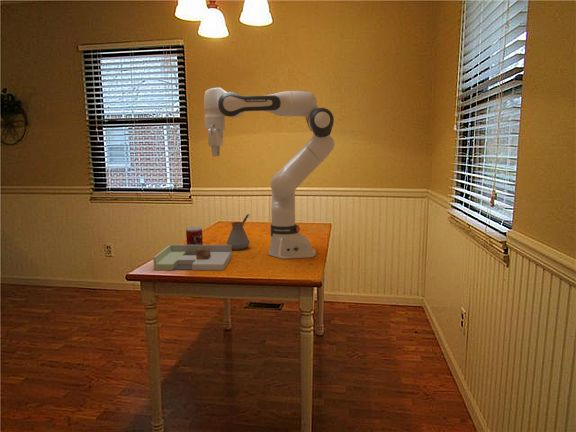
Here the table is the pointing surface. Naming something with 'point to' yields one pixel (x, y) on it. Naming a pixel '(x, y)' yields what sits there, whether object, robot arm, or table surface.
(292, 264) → the table surface
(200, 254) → the walnut block
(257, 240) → the table surface
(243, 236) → the coffee pot
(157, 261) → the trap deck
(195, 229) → the canned food
